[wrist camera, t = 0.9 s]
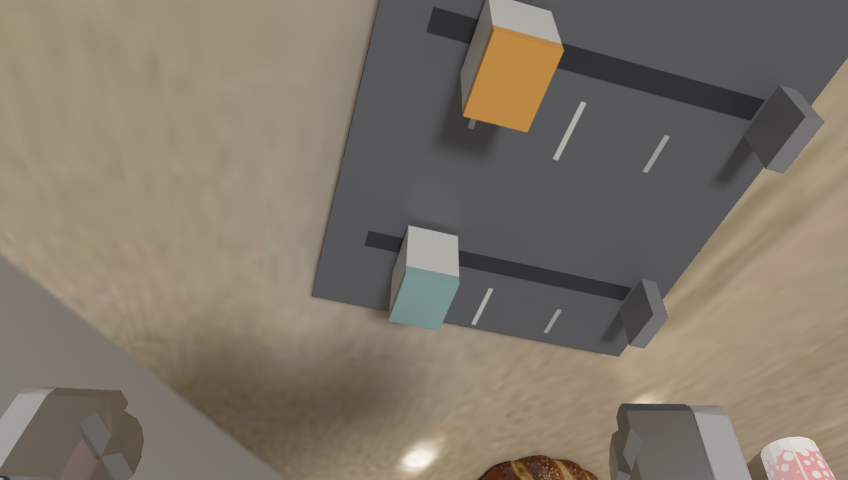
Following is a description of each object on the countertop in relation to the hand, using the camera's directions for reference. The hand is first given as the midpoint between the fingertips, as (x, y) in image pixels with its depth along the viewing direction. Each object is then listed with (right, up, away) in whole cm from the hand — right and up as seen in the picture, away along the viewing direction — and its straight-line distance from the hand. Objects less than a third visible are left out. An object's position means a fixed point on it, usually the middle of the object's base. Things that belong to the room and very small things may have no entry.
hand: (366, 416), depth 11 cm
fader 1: (+1, +2, +28) cm, 28 cm away
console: (+8, +8, +27) cm, 29 cm away
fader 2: (+5, +12, +19) cm, 23 cm away
